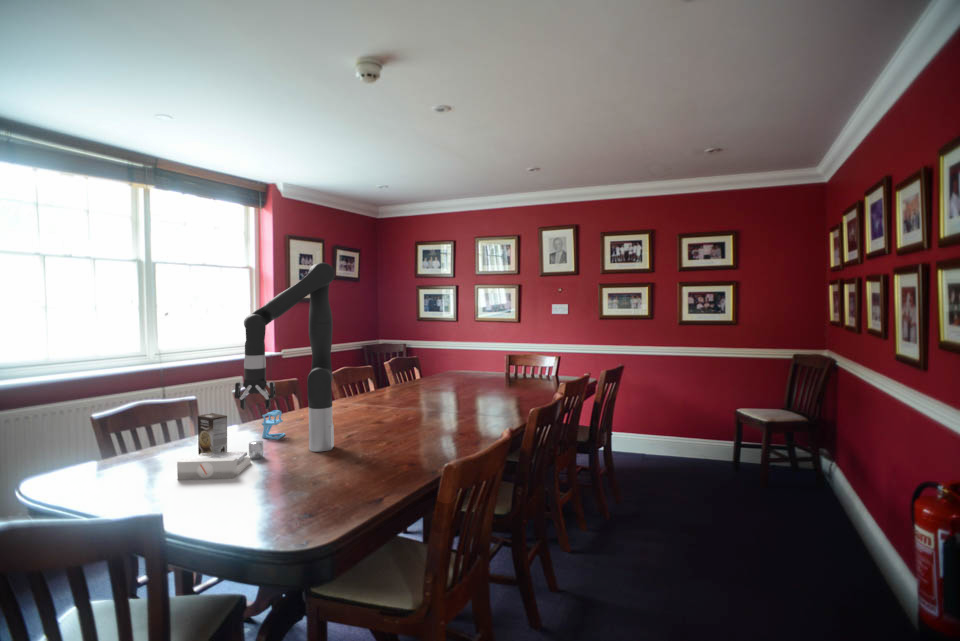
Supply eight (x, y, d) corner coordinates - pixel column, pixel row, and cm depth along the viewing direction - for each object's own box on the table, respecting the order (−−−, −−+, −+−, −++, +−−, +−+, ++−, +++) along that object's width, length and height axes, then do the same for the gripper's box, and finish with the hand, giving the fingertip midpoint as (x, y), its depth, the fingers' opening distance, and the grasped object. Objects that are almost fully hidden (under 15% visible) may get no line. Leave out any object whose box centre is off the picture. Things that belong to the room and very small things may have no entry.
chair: (267, 434, 224) (266, 408, 223) (285, 435, 224) (285, 408, 223) (259, 439, 216) (258, 412, 216) (278, 439, 216) (277, 412, 215)
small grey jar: (265, 455, 193) (264, 440, 193) (260, 459, 188) (260, 444, 188) (251, 456, 193) (251, 440, 192) (247, 460, 188) (246, 444, 187)
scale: (250, 462, 184) (250, 446, 184) (233, 478, 168) (232, 461, 168) (199, 464, 183) (199, 448, 182) (176, 480, 166) (176, 462, 166)
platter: (247, 454, 184) (247, 451, 184) (235, 464, 173) (235, 461, 173) (201, 456, 182) (201, 452, 182) (187, 466, 171) (186, 462, 171)
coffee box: (197, 457, 191) (196, 415, 190) (213, 453, 197) (212, 412, 196) (212, 461, 187) (211, 418, 186) (228, 456, 192) (227, 414, 192)
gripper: (277, 365, 194) (277, 406, 194) (239, 365, 192) (239, 407, 193) (271, 367, 186) (271, 411, 187) (231, 368, 185) (232, 411, 185)
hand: (255, 409), depth 190 cm, fingers open, 8 cm apart
